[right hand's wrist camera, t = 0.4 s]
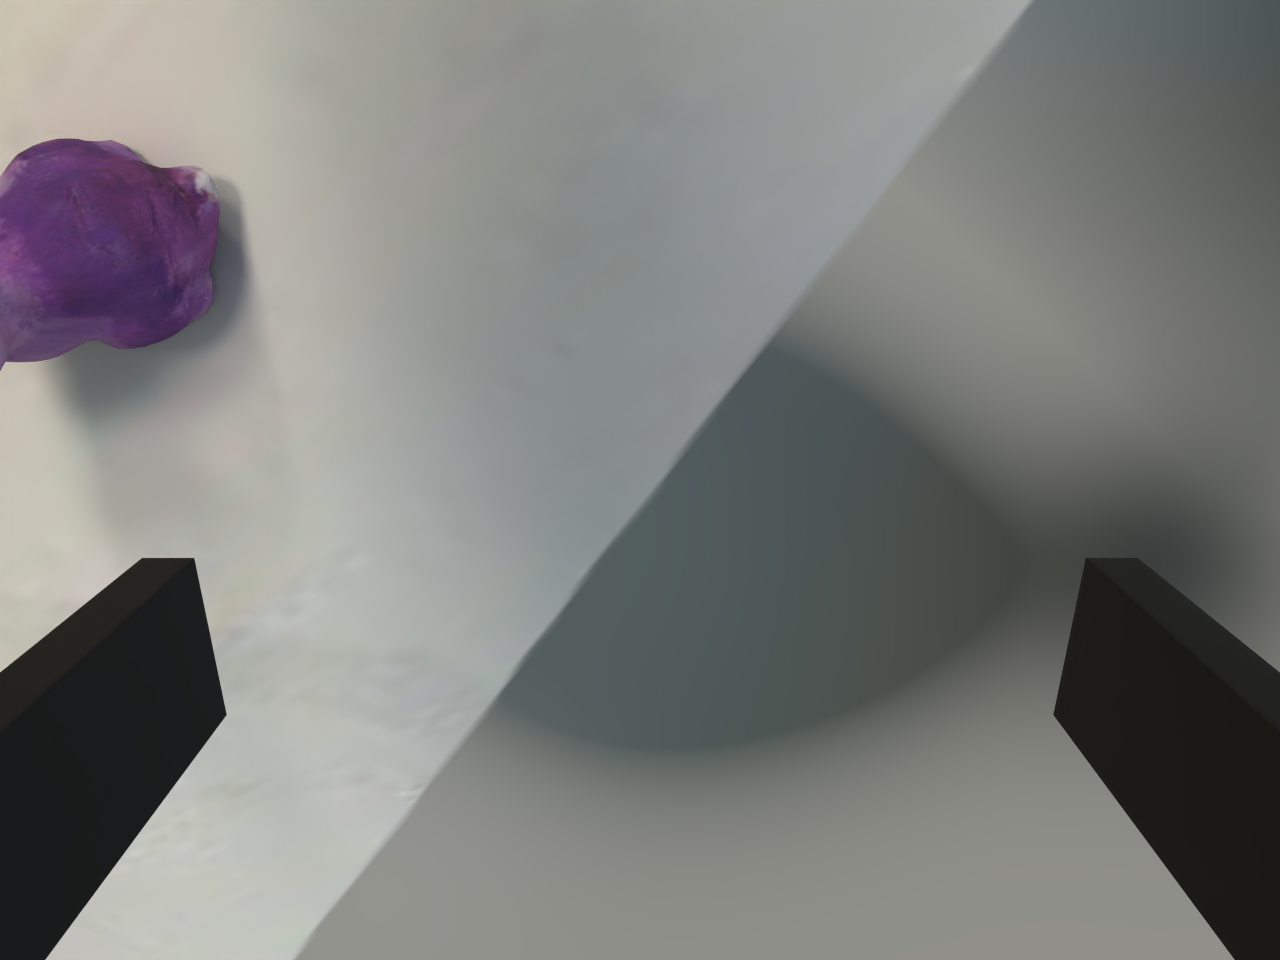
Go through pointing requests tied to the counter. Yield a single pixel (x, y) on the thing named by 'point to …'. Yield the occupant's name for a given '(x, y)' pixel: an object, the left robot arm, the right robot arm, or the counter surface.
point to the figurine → (100, 249)
